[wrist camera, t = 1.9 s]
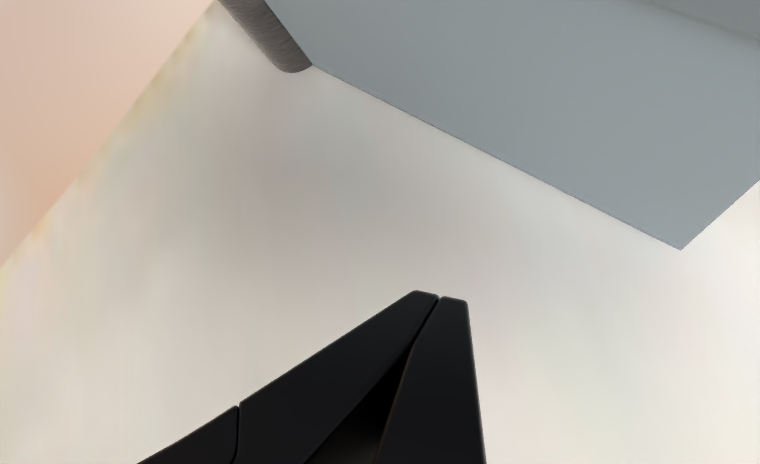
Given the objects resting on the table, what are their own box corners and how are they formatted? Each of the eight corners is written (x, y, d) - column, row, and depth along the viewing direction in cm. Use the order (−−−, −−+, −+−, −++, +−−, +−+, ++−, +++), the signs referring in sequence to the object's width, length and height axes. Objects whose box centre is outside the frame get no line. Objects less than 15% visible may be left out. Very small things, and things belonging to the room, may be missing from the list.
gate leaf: (310, 70, 26) (72, -235, 13) (330, 39, 26) (115, -296, 13) (676, 257, 20) (936, 32, 7) (701, 215, 20) (1007, -90, 7)
